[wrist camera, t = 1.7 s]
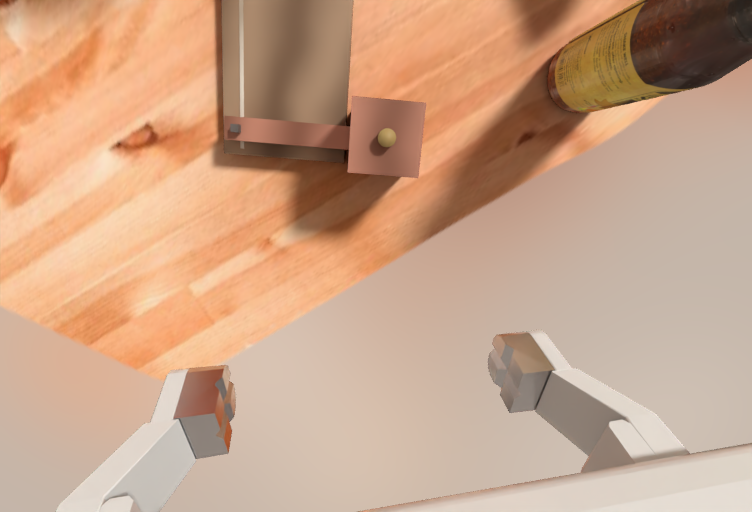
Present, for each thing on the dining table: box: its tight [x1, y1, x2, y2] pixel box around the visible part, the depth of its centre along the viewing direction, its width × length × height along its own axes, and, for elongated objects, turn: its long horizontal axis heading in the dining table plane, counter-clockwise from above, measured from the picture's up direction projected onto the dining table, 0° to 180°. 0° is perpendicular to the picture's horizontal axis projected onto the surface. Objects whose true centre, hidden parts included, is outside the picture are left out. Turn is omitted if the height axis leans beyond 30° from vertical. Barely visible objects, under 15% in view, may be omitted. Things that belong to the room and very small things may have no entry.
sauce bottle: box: [547, 0, 752, 113], centre depth 24 cm, size 6×6×20 cm
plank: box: [221, 0, 353, 163], centre depth 31 cm, size 10×22×2 cm, turn 176°
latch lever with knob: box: [224, 96, 426, 178], centre depth 30 cm, size 15×5×9 cm, turn 85°
